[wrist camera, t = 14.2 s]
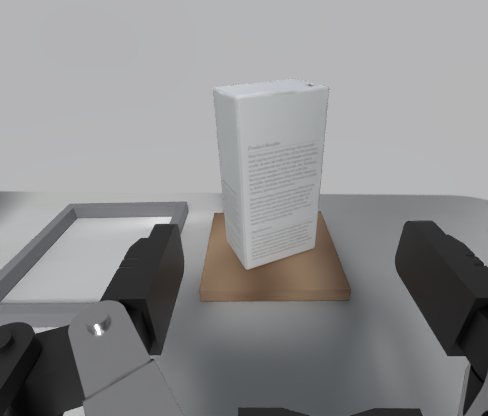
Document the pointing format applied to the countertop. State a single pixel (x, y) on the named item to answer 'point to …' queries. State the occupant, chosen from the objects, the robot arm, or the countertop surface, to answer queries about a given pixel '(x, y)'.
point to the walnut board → (273, 272)
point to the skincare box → (271, 166)
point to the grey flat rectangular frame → (31, 253)
